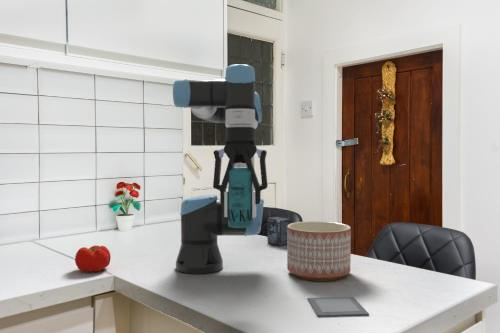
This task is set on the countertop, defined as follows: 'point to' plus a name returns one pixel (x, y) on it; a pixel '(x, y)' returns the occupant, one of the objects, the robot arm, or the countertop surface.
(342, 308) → the slate mat
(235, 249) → the countertop surface
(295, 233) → the planter
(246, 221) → the beverage bottle
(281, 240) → the box
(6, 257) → the countertop surface
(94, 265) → the tomato
